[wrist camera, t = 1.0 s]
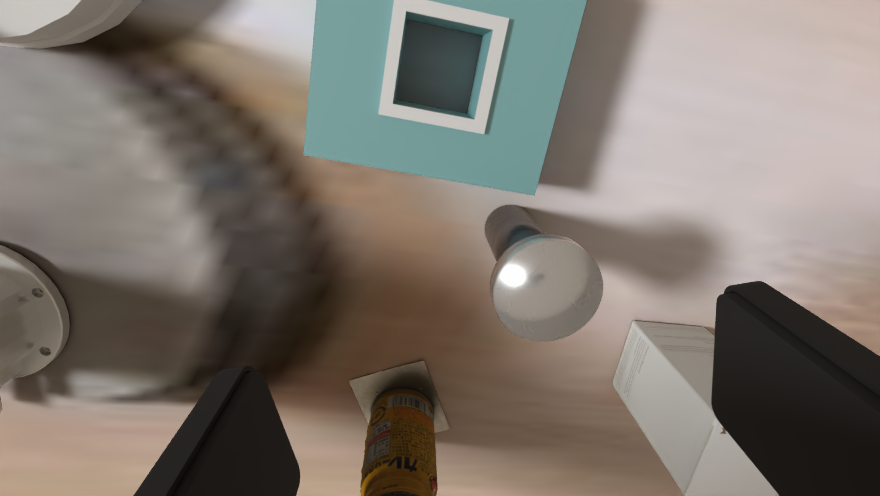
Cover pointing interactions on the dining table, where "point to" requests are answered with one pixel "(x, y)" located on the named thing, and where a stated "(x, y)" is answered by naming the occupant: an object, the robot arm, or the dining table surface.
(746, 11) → the dining table surface
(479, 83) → the dock
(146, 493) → the robot arm
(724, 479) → the supplement box
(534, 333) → the bolt
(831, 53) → the dining table surface
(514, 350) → the dining table surface
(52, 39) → the dish
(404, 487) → the condiment
